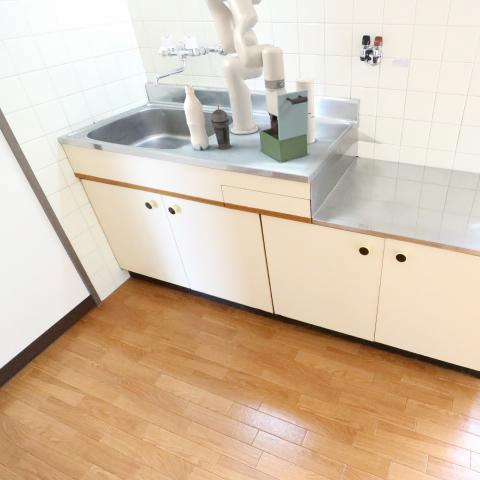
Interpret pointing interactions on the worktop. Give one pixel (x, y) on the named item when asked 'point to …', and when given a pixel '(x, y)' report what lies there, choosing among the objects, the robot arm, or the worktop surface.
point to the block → (274, 127)
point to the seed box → (283, 146)
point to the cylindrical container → (308, 85)
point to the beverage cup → (221, 127)
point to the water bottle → (195, 119)
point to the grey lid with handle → (292, 114)
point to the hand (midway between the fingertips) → (278, 131)
